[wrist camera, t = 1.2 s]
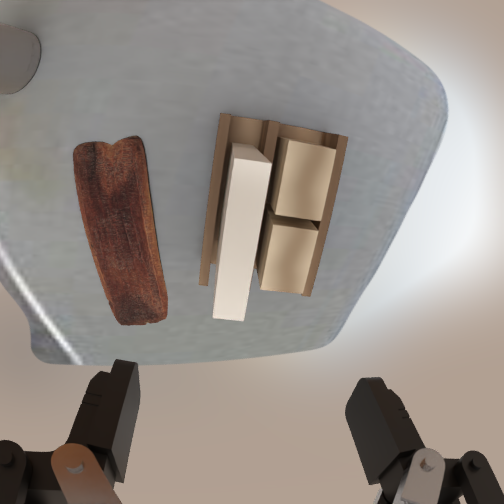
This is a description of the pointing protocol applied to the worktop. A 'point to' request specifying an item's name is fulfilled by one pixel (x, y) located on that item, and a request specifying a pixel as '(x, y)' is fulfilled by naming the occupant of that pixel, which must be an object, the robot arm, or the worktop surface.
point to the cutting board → (239, 229)
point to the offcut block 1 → (300, 178)
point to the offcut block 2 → (284, 252)
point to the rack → (265, 142)
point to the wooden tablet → (121, 228)
